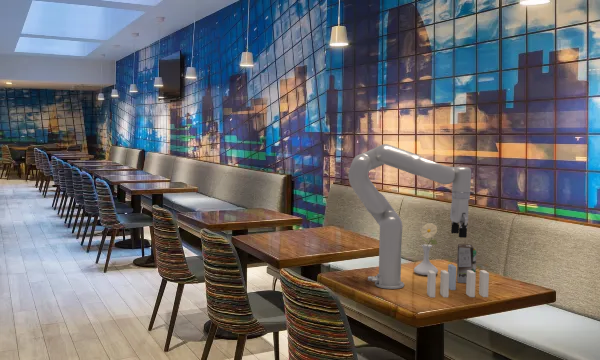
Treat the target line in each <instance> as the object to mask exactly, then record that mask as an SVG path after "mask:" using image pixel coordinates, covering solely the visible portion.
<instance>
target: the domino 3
mask: <svg viewBox="0 0 600 360" xmlns="http://www.w3.org/2000/svg"><path fill="white" fill-rule="evenodd" d="M447 272H448V273H449V291H456V289H457V287H456V286H457V265H454V264H452V263H451V264H450V263H449V264H448V265H447Z"/></svg>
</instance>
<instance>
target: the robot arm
mask: <svg viewBox="0 0 600 360" xmlns="http://www.w3.org/2000/svg"><path fill="white" fill-rule="evenodd" d="M384 165H385V166H389V167H392V168H395V169H397V170H401V171H403V172H405V173H408V174H411V175H415V176H418V177H422V178H425V179H427V180H430V181H433V182H435V183H439V184H441V185H449V184H451V186H452V187H451V204H450V205H451V206H450V215H449V219H450V220H451V230H450V231H451V232H450V233H451V234H458V237H459V238H461V239H463V238H467V235H468V234H467V233H468V225H469V224H468V222H469V201H470V200H471V183H472V181H471V180H472V169H471V167H467V166H455V167H454V166H448V165H443V164H441V163H438V162H435V161H432V160H430V159H427V158H425V157H423V156H421V155H419V154H417V153H413V152H411V151H408V150H405V149H403V148H399V147H397V146H394V145H391V144H388V143H383V144H381V145H379V146H376V147H374V148H371V149H369V150H367V151H365V152H363V153H360V154H357V155H355V156H354V157H353V159H352V162H351V163H350V167H349V168H348V169H349V170H348V182H349V184H350V187H351V189H352V190H353V191H354V193H355V194H356V196H357V197H358V199H359V200H360V202H361V203H362V204H363V206H364V208H365V210H366V211H367V212H368V213H369V214H370V215H371V216H372V217H373V219H374V220H375V221H376V223H377V224H378V226H379V248H378V273H376V275H374V276H372V275H371V276H370V275H368V276H367V281H369V282H374V286H376V287H378V288H381V289H386V290H388V289H390V290H397V289H401V288H402V289H403V288H404V287H405V282H403V281H401V278H402V244H403V243H402V238H403V222H402V219H401V217H400V215H399V214H398V213H397V212H396V210H395V209H394V208H393V207H392V205H391V204H390V202H389V201H388V199H387V198H386V197H385V195H384V194H383V193H381V192H380V191H379V190H378V189H377V188H376V186H375V185H374V183H373V182H372V180H371V179H370V177H369V173H370V171H371V170H375V169H376V168H379V167H381V166H384Z"/></svg>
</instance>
